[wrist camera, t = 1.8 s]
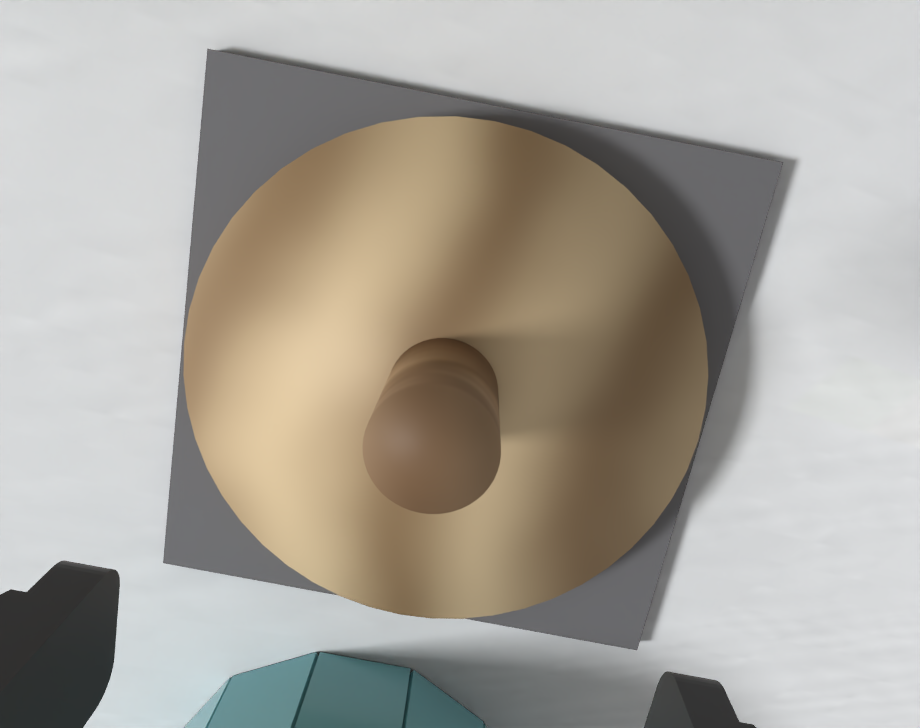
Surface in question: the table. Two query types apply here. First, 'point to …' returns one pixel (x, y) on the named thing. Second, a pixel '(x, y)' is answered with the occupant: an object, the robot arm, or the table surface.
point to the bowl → (332, 698)
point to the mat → (368, 103)
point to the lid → (445, 367)
